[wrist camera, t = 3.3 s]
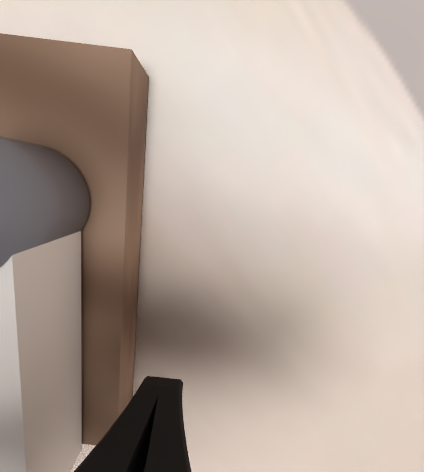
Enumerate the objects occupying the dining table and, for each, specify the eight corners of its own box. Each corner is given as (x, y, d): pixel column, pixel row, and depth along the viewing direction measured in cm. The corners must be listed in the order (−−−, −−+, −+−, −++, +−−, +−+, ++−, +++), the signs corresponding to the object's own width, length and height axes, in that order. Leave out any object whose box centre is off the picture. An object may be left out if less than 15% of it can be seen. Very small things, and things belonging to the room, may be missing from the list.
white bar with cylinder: (-19, 137, 8) (-169, 108, 5) (89, 150, 8) (10, 129, 5) (7, 440, 11) (-78, 546, 8) (88, 449, 11) (36, 557, 8)
